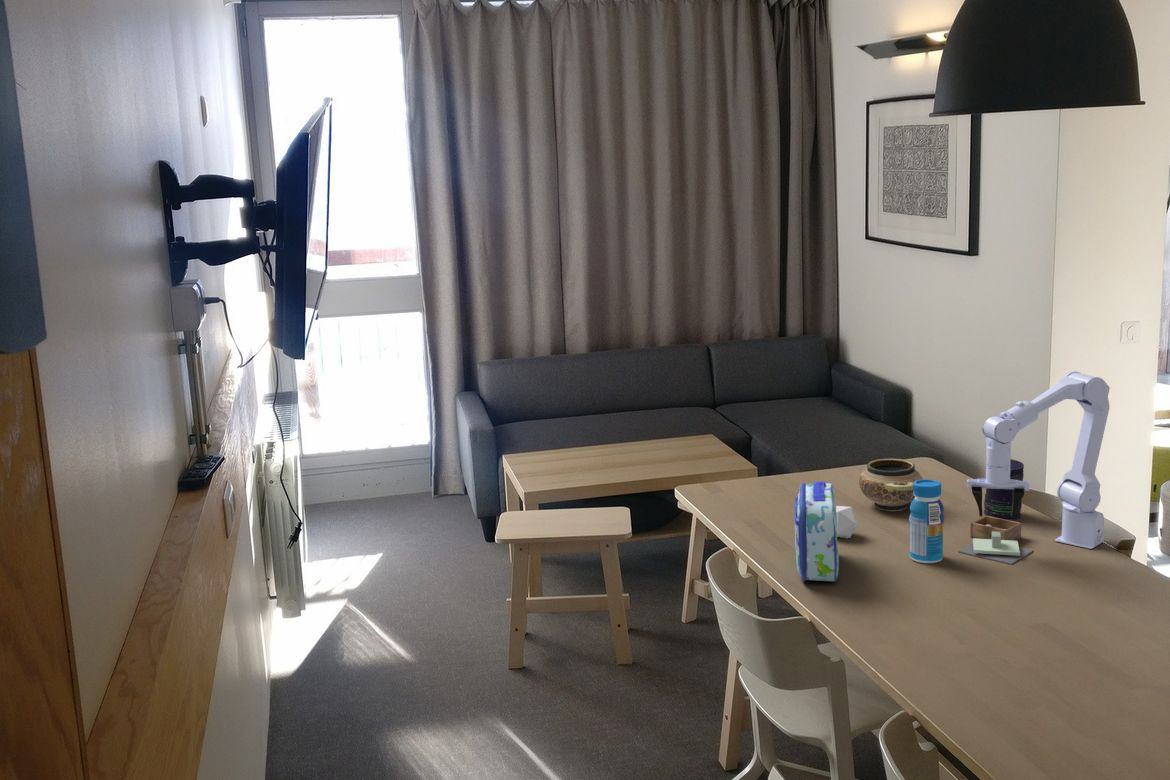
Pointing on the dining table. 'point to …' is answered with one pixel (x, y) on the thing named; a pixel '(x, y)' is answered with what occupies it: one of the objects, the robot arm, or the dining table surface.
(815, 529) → the lunch box
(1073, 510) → the robot arm
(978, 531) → the box
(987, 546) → the lid
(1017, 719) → the dining table surface
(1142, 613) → the dining table surface
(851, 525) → the die
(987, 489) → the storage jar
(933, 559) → the beverage bottle
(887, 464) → the ceramic bowl
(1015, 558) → the mat
